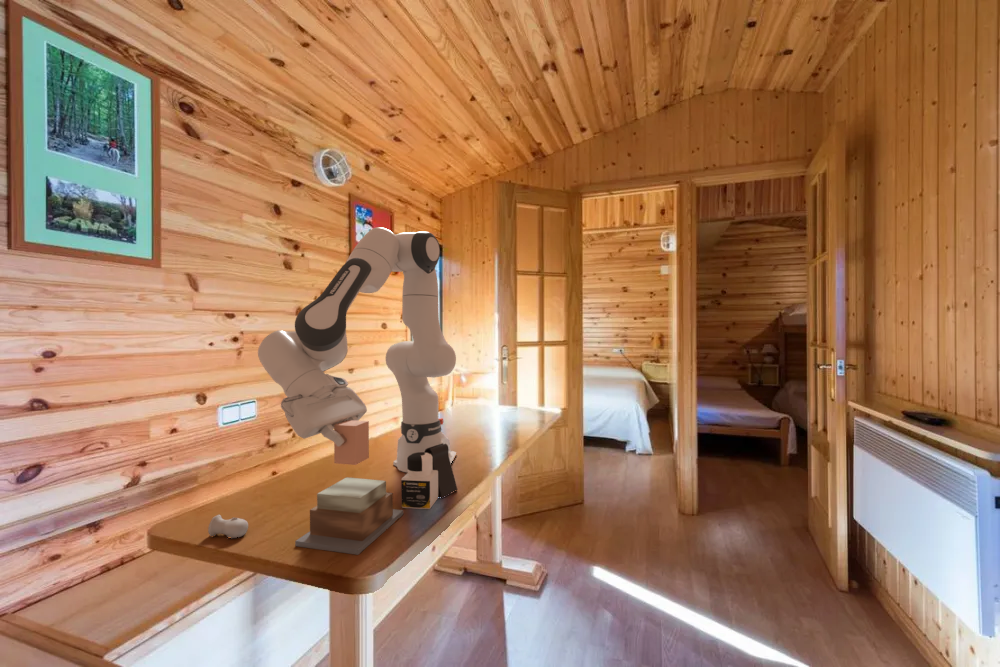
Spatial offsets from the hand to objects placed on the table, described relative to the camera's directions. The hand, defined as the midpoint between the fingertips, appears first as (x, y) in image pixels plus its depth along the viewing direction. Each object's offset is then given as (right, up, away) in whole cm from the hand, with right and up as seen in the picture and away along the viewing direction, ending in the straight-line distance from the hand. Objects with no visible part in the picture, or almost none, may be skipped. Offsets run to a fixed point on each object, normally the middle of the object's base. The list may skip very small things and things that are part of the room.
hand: (352, 439), depth 90 cm
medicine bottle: (+12, -19, +14) cm, 26 cm away
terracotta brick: (0, -4, 0) cm, 4 cm away
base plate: (0, -19, 0) cm, 19 cm away
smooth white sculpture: (-25, -20, -2) cm, 32 cm away
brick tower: (0, -19, 0) cm, 19 cm away
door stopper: (+15, -19, +21) cm, 32 cm away
